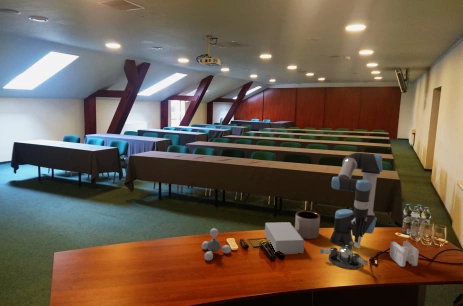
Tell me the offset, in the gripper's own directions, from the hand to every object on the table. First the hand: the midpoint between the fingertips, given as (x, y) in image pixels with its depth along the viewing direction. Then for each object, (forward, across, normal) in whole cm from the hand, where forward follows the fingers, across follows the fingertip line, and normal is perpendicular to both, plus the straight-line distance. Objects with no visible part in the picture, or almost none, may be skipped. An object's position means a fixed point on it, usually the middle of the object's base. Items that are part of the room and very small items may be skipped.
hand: (357, 247), depth 184 cm
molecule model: (+17, -64, +58) cm, 89 cm away
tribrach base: (+17, +7, +14) cm, 23 cm away
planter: (+17, +11, +55) cm, 58 cm away
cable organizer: (+17, +39, -3) cm, 43 cm away
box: (+17, -14, +50) cm, 55 cm away
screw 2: (+15, +7, +3) cm, 17 cm away
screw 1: (+15, +16, +19) cm, 29 cm away
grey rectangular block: (+15, -2, +19) cm, 24 cm away
